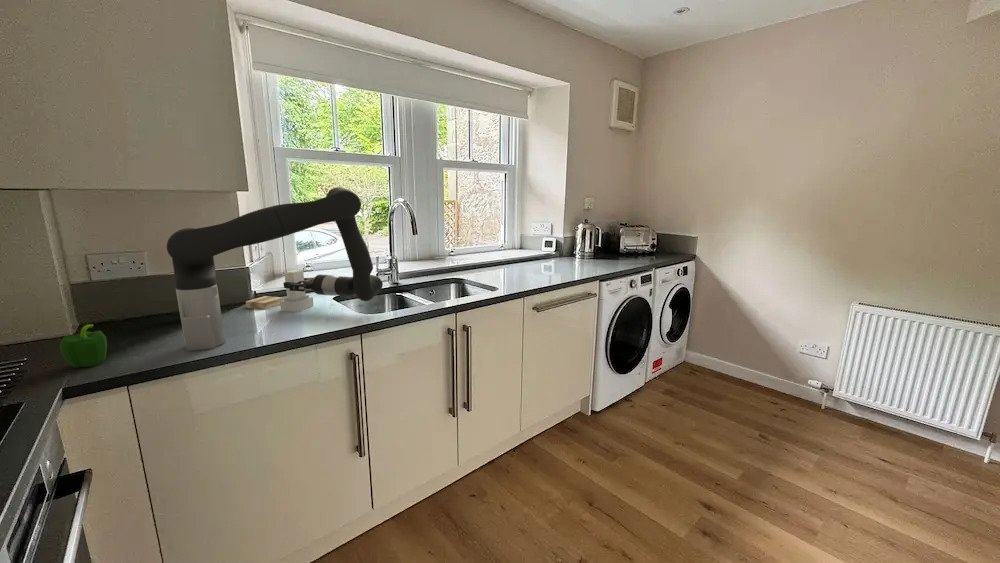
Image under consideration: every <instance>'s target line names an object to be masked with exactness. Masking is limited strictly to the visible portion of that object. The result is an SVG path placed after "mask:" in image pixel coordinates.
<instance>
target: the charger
mask: <svg viewBox="0 0 1000 563" xmlns="http://www.w3.org/2000/svg"><path fill="white" fill-rule="evenodd" d="M304 278H305V275H304V270H301V269H292V270H288V271H284V282H299V281H303V280H304ZM301 284H303V282H302V283H301ZM285 290H286V298H289V299H298V298H301V297H304V296H306V295H307V294H306V290H305V291H304V292H302V291H290V290H289V288H285Z"/></svg>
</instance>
